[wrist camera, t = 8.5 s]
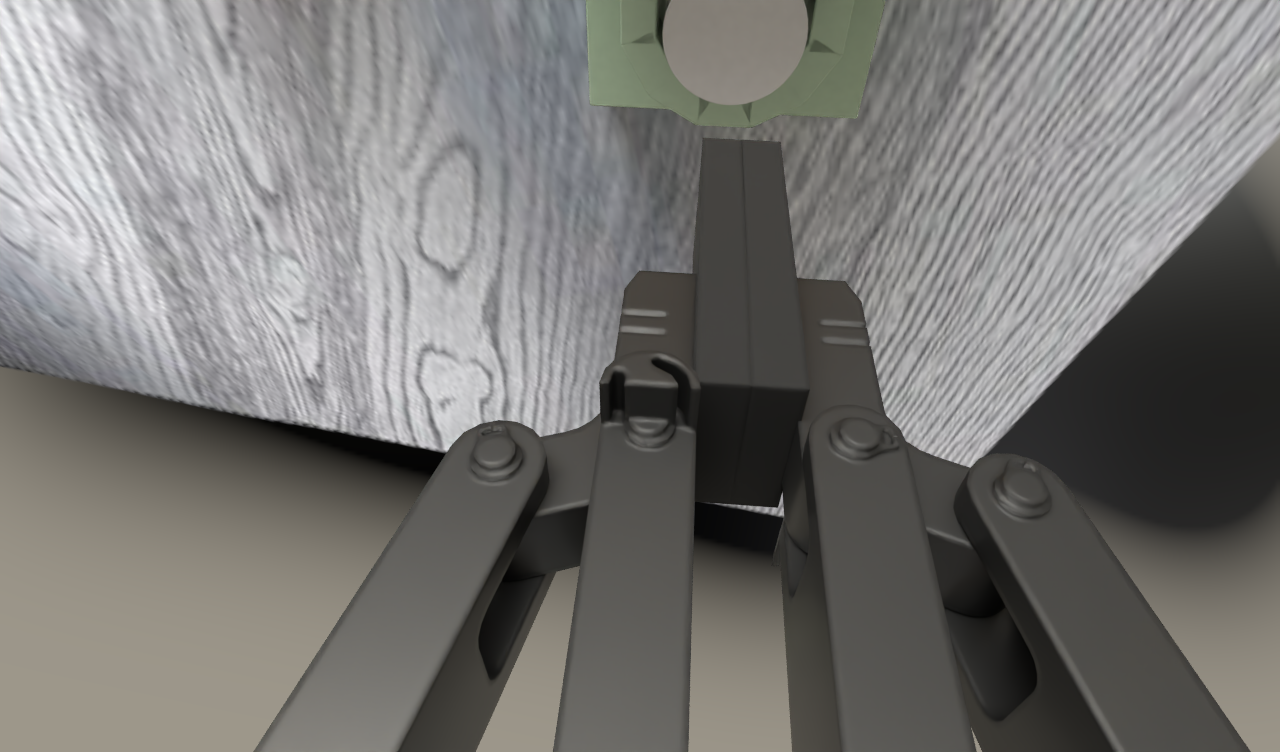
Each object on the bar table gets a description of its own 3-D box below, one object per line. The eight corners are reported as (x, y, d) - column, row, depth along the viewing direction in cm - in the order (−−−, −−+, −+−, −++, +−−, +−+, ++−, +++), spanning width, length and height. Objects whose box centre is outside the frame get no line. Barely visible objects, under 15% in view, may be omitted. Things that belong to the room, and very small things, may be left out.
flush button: (663, 78, 25) (660, 102, 24) (668, -66, 22) (665, -47, 21) (791, 85, 25) (795, 109, 24) (815, -60, 22) (821, -41, 20)
